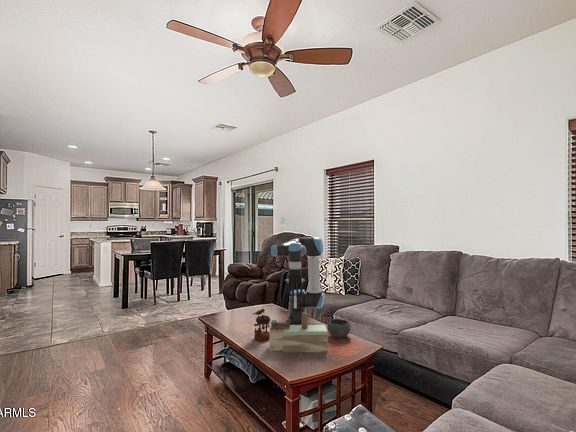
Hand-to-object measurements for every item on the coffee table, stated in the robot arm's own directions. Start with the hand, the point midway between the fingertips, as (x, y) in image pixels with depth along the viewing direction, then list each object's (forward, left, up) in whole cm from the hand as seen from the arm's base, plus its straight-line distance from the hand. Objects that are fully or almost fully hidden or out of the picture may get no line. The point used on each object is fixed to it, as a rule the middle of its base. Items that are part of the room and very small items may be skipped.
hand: (295, 307), depth 192 cm
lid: (0, +6, -14) cm, 15 cm away
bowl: (-19, +30, -25) cm, 43 cm away
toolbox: (0, +2, -24) cm, 24 cm away
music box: (-17, -20, -25) cm, 36 cm away
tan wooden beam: (0, -9, -12) cm, 15 cm away
